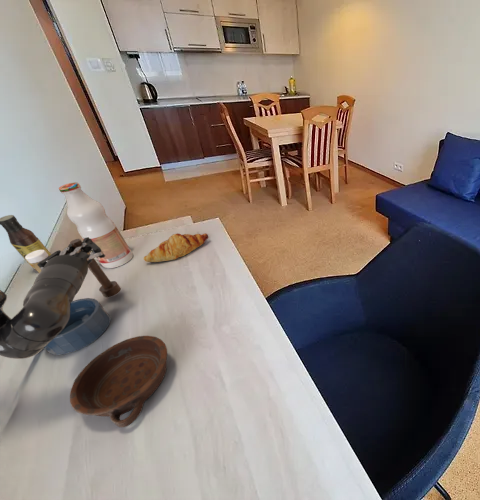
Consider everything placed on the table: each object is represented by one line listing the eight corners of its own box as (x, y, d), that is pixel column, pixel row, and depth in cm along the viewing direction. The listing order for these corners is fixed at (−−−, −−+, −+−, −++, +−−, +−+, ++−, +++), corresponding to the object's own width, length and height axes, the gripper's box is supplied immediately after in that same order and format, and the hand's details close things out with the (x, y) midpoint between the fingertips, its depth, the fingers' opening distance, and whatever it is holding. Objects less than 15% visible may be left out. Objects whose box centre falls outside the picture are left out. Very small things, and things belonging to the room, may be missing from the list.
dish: (167, 330, 76) (158, 317, 73) (185, 397, 61) (175, 384, 58) (85, 370, 69) (71, 356, 66) (82, 458, 53) (64, 445, 50)
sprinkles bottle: (53, 294, 93) (22, 260, 85) (56, 286, 96) (26, 252, 88) (71, 288, 94) (42, 254, 86) (73, 281, 98) (45, 247, 90)
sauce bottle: (35, 267, 106) (-9, 218, 95) (57, 259, 110) (17, 210, 98) (36, 275, 102) (-10, 224, 91) (58, 266, 106) (17, 216, 94)
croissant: (152, 276, 102) (142, 265, 95) (142, 253, 105) (132, 241, 98) (215, 250, 110) (210, 238, 104) (204, 230, 114) (199, 217, 107)
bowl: (39, 364, 71) (21, 349, 68) (59, 325, 81) (44, 309, 78) (105, 342, 75) (91, 326, 71) (116, 307, 85) (104, 291, 82)
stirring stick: (102, 299, 86) (62, 247, 75) (105, 290, 89) (67, 239, 79) (119, 294, 87) (82, 242, 77) (122, 285, 90) (87, 234, 80)
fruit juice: (123, 267, 101) (72, 190, 85) (96, 270, 101) (39, 193, 85) (139, 251, 109) (94, 177, 93) (113, 253, 109) (64, 180, 93)
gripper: (87, 256, 68) (104, 222, 81) (11, 276, 64) (42, 237, 77) (105, 281, 72) (119, 245, 85) (35, 301, 68) (61, 260, 81)
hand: (82, 242), depth 81 cm, fingers closed on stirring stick, 2 cm apart
